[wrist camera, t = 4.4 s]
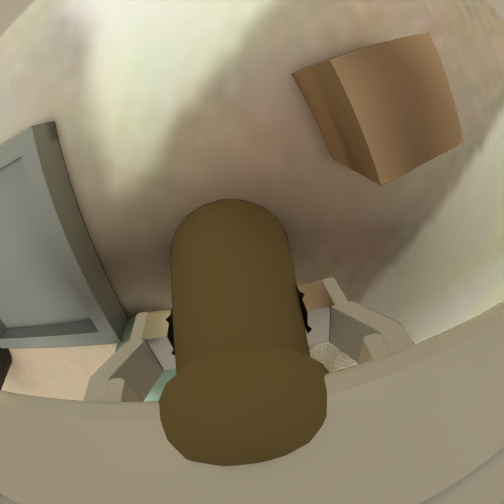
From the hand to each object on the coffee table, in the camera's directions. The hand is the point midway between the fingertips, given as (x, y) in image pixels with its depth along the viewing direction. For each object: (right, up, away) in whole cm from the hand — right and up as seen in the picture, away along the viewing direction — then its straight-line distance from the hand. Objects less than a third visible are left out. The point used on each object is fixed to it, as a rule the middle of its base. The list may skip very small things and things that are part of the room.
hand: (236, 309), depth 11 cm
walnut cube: (+5, +9, 0) cm, 11 cm away
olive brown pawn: (0, +2, +4) cm, 4 cm away
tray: (-14, +2, +2) cm, 14 cm away
